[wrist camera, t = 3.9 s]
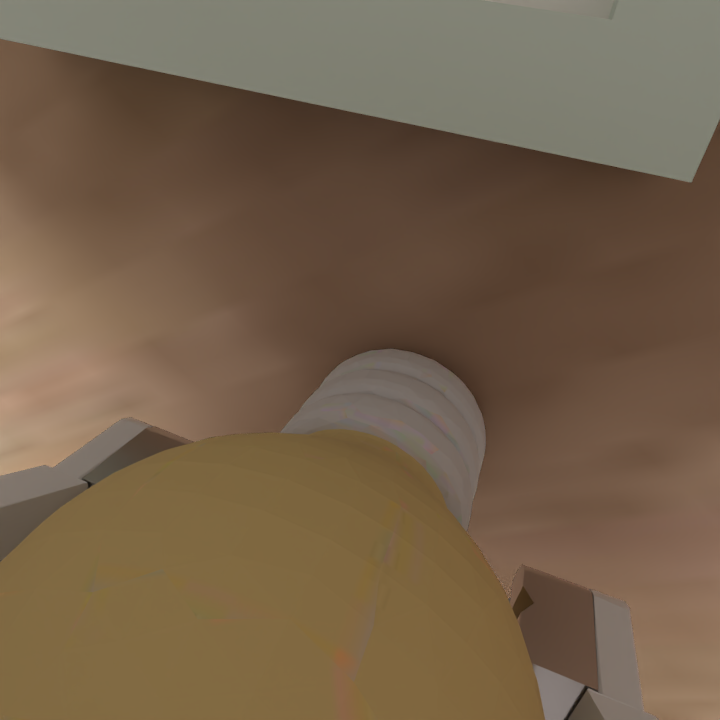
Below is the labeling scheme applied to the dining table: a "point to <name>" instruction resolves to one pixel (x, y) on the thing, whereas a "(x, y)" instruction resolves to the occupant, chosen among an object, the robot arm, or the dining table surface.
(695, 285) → the dining table surface
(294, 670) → the light bulb
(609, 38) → the tray
